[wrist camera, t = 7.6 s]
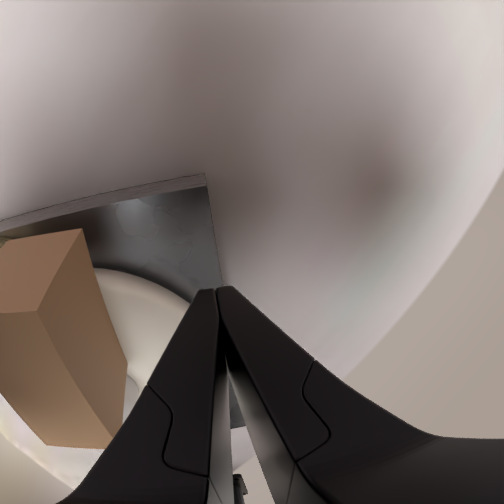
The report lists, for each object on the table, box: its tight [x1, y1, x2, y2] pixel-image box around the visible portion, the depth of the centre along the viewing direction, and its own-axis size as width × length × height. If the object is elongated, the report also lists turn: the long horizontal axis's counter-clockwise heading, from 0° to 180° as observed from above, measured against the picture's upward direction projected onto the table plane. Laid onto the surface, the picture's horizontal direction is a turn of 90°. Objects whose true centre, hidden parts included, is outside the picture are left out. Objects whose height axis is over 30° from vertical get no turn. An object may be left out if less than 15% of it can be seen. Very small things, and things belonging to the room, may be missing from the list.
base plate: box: [0, 174, 246, 429], centre depth 14 cm, size 15×12×2 cm
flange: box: [0, 228, 190, 449], centre depth 11 cm, size 11×13×5 cm
